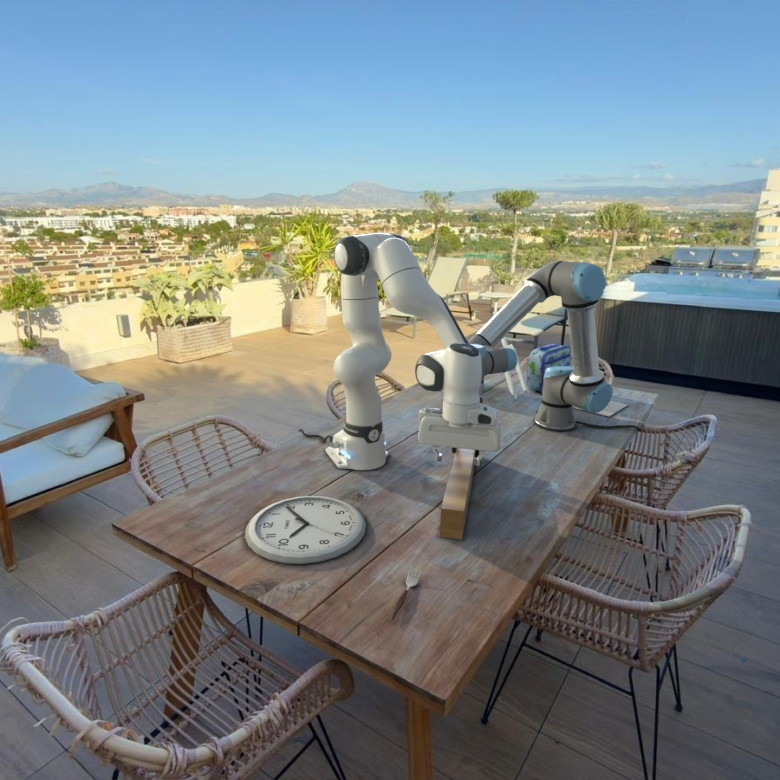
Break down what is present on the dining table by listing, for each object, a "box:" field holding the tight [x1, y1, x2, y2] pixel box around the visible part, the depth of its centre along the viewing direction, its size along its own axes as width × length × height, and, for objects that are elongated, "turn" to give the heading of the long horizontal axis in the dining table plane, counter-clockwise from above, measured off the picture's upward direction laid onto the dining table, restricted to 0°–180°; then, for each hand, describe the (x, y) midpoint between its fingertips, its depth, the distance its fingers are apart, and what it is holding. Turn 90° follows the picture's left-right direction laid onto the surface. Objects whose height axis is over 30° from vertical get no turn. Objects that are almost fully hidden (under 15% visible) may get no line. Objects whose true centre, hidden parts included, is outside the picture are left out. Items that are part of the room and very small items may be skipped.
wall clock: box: [244, 495, 367, 565], centre depth 132 cm, size 30×2×30 cm
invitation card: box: [573, 400, 629, 418], centre depth 226 cm, size 21×1×15 cm
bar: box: [439, 448, 476, 541], centre depth 151 cm, size 51×6×8 cm, turn 167°
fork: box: [391, 565, 422, 620], centre depth 108 cm, size 3×16×2 cm, turn 160°
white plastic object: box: [484, 310, 531, 400], centre depth 245 cm, size 37×45×31 cm
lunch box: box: [526, 343, 572, 394], centre depth 248 cm, size 26×11×21 cm, turn 135°
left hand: (457, 462), depth 131 cm, fingers open, 8 cm apart
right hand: (466, 462), depth 169 cm, fingers closed on bar, 6 cm apart
